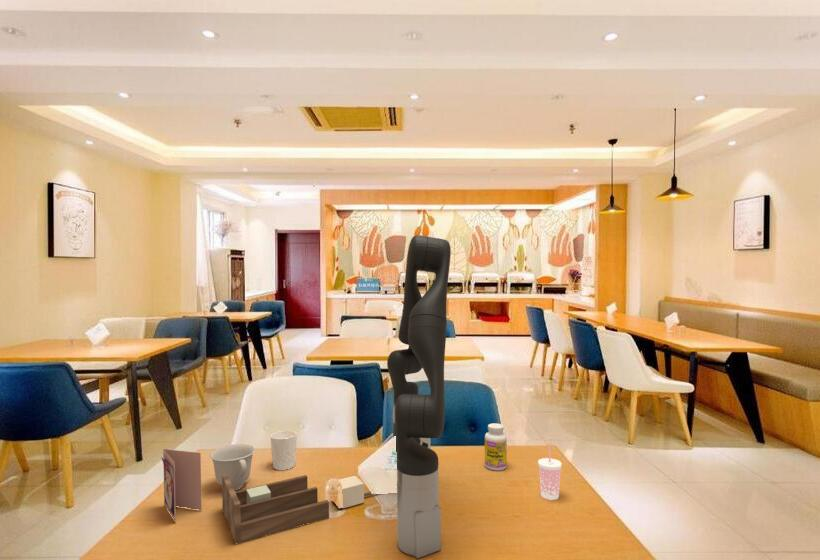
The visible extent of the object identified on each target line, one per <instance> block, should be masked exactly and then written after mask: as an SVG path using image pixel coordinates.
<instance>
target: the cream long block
mask: <svg viewBox="0 0 820 560" xmlns="http://www.w3.org/2000/svg"><path fill="white" fill-rule="evenodd" d="M338 480H339V481H340V482H341V484H342V494H343V507H344V508H343V509H346V508H349V507H353V506H356V505H360V504H363V503H365V497H368V496H372V495H373V494H371V491H369V492H368V491H367V492H365V483H364V482H363V481H362V480H361V479H360V478H358V477H357V475H353V476H352V475H351V476H348V477H345V478H340V479H338Z"/></svg>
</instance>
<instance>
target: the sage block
mask: <svg viewBox="0 0 820 560" xmlns="http://www.w3.org/2000/svg"><path fill="white" fill-rule="evenodd" d="M263 485H264V486H261V485H258V486H259V487H256V486H254V487H255V488H252V487H250V488H251V489H248V488H245V489H246V496H247V504H249V503H253V502H257V501H261V500H265V499H269V498H271V492H270V490H269V489H268V487H267V485H265V484H263Z"/></svg>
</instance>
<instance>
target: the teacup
mask: <svg viewBox="0 0 820 560" xmlns="http://www.w3.org/2000/svg"><path fill="white" fill-rule="evenodd" d="M255 451H256V448H255V447H254V446H253V445H250V444H244V443H243V444H242V443H240V444H239V443H238V444H237V443H236V444H229V445H225V446H221V447H219V448H216V449H215V450H213V451H212V452H211V453H210V454H209V458H210V459H211V460H212V464H213V469H214V475H215V479H216V482H217V483H218V484H219V485H221V486H222V475H224V474H227V475H228V477H229V480H230V482H231V484H232V486H233V488H234V490H235V491H237V490H236V489H238V490H240V489H239V488H241V487H242V488H244V486H245V482H246V481H247V480H248V479H249V477H250V474H251V471H252V459H253V454H254V453H255ZM243 485H244V486H243ZM242 488H241V489H242Z"/></svg>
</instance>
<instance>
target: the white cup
mask: <svg viewBox="0 0 820 560" xmlns="http://www.w3.org/2000/svg"><path fill="white" fill-rule="evenodd" d="M297 437H298V436H297V432H296V431H294V430H279V431H275V432H273V433H271V434H270V447H271V448H270V449H271V459H272V468H273V469H274V468H275V469H277V470H276V471H287V470H286V469H288V470H291V469H293V468H294V467H295V466H296V456H297V455H296V454H297ZM292 467H293V468H292ZM290 468H291V469H290ZM275 469H274V470H275Z"/></svg>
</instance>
